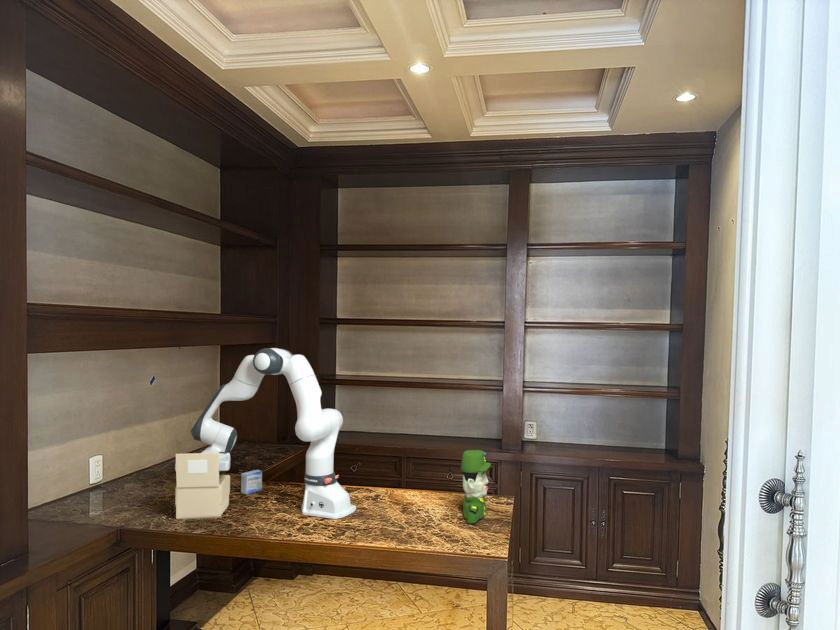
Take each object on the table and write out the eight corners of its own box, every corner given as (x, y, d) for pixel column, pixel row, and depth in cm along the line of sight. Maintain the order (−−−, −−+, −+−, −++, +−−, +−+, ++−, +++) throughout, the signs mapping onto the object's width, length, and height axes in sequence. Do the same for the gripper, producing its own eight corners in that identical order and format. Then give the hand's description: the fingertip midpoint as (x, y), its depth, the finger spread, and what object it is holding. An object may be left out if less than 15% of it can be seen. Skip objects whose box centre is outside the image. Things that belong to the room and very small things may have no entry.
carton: (187, 505, 213) (187, 476, 213) (230, 504, 215) (230, 474, 215) (174, 519, 198) (175, 487, 198) (221, 517, 200) (221, 485, 200)
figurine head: (488, 526, 193) (488, 458, 193) (456, 523, 195) (456, 456, 196) (492, 506, 214) (493, 445, 214) (464, 504, 217) (464, 443, 217)
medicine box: (246, 494, 227) (247, 474, 227) (240, 492, 229) (240, 473, 229) (262, 490, 233) (262, 470, 233) (256, 488, 236) (256, 469, 236)
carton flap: (176, 453, 197) (175, 454, 196) (218, 452, 199) (218, 453, 198) (177, 486, 199) (176, 487, 198) (219, 485, 200) (218, 486, 200)
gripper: (181, 453, 211) (168, 462, 198) (233, 452, 214) (224, 461, 200) (181, 469, 211) (168, 479, 198) (233, 468, 214) (224, 478, 200)
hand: (197, 470), depth 199 cm, fingers closed, pressing on carton flap
